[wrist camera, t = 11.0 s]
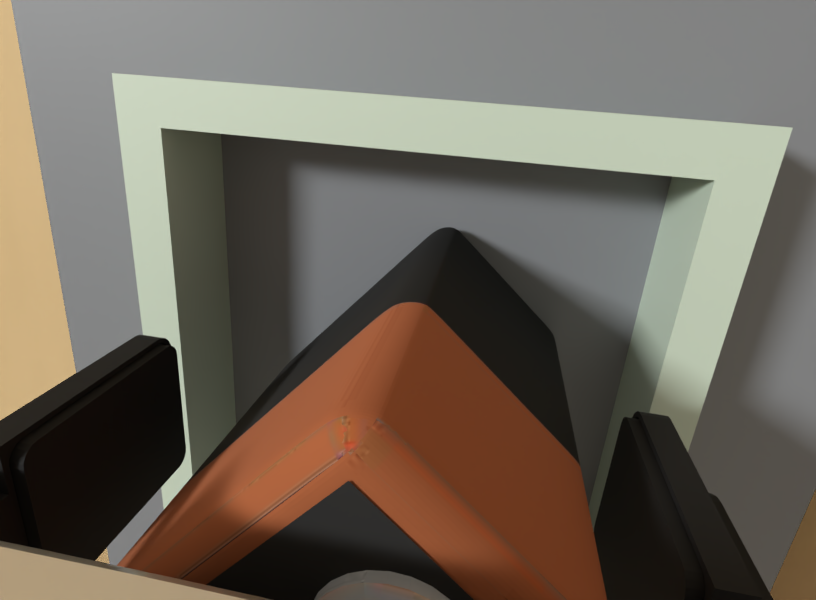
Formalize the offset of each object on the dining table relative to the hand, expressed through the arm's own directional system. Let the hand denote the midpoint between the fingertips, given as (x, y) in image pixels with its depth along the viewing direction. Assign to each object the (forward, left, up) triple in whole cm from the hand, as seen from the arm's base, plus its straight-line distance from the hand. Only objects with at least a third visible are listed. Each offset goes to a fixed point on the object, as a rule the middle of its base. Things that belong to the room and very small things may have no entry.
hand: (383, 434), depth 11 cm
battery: (0, 0, -4) cm, 4 cm away
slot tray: (0, 0, -5) cm, 5 cm away
